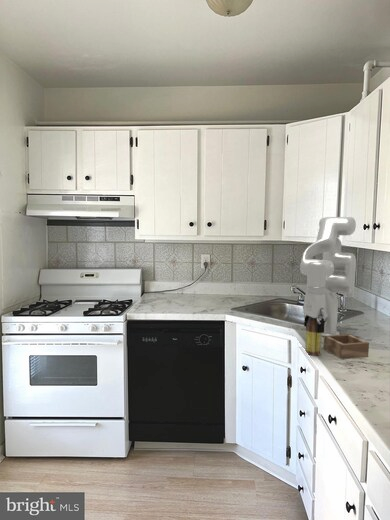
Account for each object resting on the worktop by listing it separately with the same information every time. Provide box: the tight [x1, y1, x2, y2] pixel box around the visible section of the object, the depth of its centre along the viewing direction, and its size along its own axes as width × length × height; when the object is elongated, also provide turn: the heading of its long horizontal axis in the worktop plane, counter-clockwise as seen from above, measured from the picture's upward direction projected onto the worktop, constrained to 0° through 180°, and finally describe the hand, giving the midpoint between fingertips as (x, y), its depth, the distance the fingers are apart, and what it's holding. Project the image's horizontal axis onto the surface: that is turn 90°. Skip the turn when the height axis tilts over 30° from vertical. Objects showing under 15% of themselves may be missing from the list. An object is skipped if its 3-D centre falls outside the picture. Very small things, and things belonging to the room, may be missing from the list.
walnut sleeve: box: [323, 333, 370, 360], centre depth 162 cm, size 13×13×6 cm
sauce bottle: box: [305, 316, 322, 356], centre depth 160 cm, size 7×6×20 cm
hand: (313, 329), depth 160 cm, fingers open, 9 cm apart
